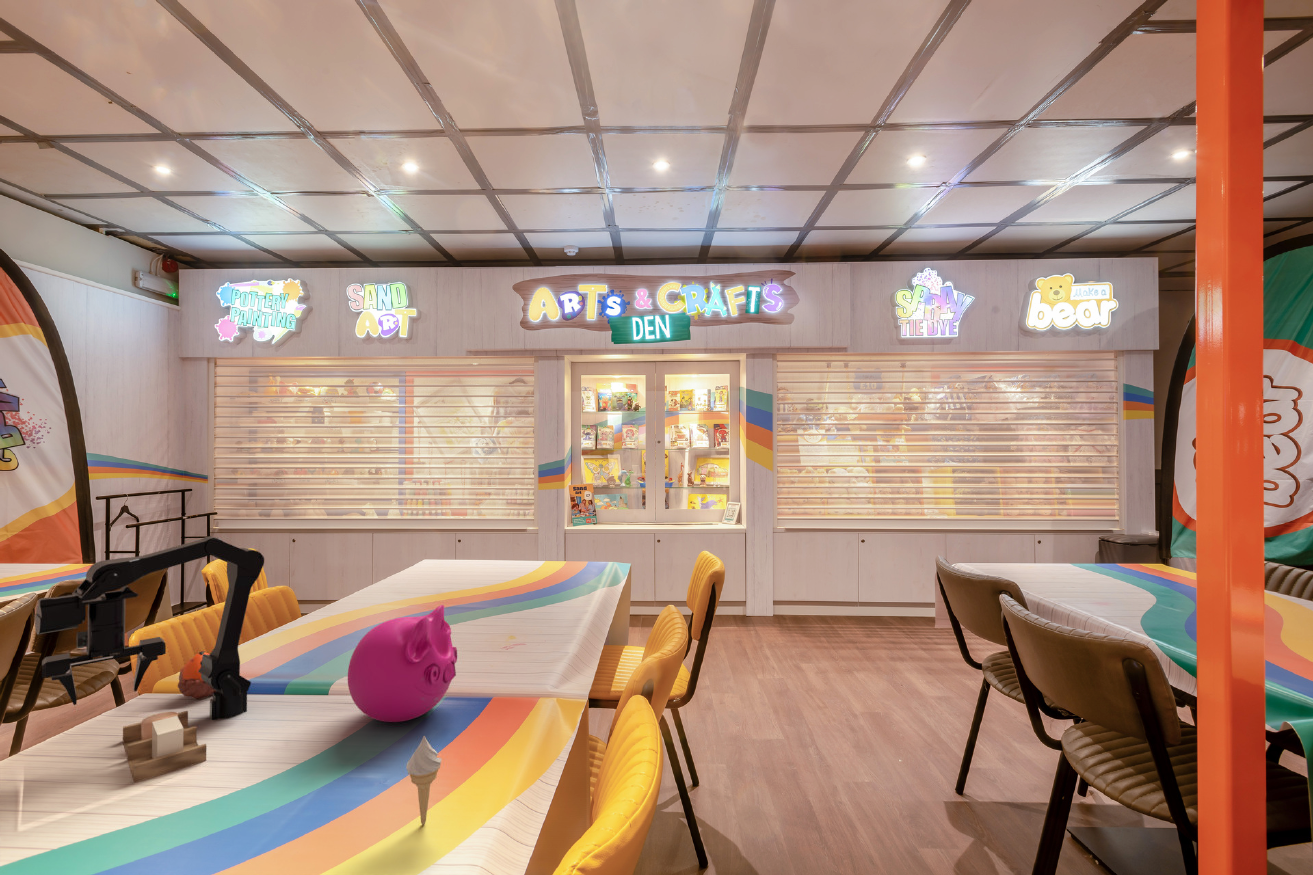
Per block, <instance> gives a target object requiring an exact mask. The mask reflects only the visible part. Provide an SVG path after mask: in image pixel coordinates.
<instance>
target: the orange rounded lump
mask: <svg viewBox="0 0 1313 875" xmlns="http://www.w3.org/2000/svg"><path fill="white" fill-rule="evenodd" d="M203 654H207V655H210V653H208V652H205V651H204V650H203V651H199V652H197V654H195V655H194V656H193V657H192V658H191V659H189V660H188V661H187V662H186V663H185V665H184V666H183V667H182V668H180V671H179V676H178V680H179V681H178V683H177V688H178V690H179V692H180V693H181V694H182V695H183V696H184V697H186V698H187V697H190V698H192V699H195V700H203V699H205V698H209V697H212V696H213V692H215V691H216V690H214V689H212V687H211V686H209V685H208V684H206V683H205V682H204V681H203V680H202V678H201V673H199V672H198V671H199V669H200V668H201V665H202V656H203Z"/></svg>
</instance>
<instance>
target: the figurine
mask: <svg viewBox="0 0 1313 875" xmlns="http://www.w3.org/2000/svg"><path fill="white" fill-rule="evenodd" d="M451 635H452V628H451V626H450V624H449V623H448V622H447V621H446V620H445V605H444V604H441V605H439V606H437V607H436V608H435V609H433V610H432V612H430V613H429V614H426V615H421V616H403V617H402V616H401V617H396V618H392V619H389V620H387V621H383V622H382V623H379V624H378V625H376V626H374V627H373V628H371V629H370V630H369V631H368V632H367V633H366V634H365V635H364V636H363V637H362V638H361V639H360V640H359V641H358V643H357V645H356V646H355V648H354V650H353V652H352V655H351V657H350V660H349V664H348V669H347V686H348V691H349V694H350V697H351V698H352V701H353V703H354V705H355V706H356V708H358V710H360V712H361V713H363V714H365V715H366V716H368V717H369V718H372V719H374V720H377V721H381V722H385V723H400V722H405V721H410V720H413V719H416V718H419V717H420V716H422V715H425V714H426V713H428V712H429V711H431V710H432V709H433V708H434V707H436V706H437V704H438V703H440V702H441V700H443V697H444V696H446V695H445V694H447V691H448V690H449V687H450V685H451V682H452V680H453V679H454V678H455V677H456V676H457V672H456V663H457V661H458V649H457V646H453V641H452V637H451Z"/></svg>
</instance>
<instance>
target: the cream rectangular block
mask: <svg viewBox="0 0 1313 875" xmlns="http://www.w3.org/2000/svg"><path fill="white" fill-rule="evenodd" d="M182 750H183V726H182V724H181V722H180V720H179V719H178V717H177V716H174V717H170V718H166V719H162V720H158V721H154V722H152V758H153V759H154V758H158V757H161V756H165V755H168V754H172V753H175V752H179V751H182Z"/></svg>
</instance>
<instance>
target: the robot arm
mask: <svg viewBox="0 0 1313 875" xmlns="http://www.w3.org/2000/svg"><path fill="white" fill-rule="evenodd" d="M209 556H211V557H214V558H216V559H218V560H220V561H223V562H225V563H226V578H227V582H228V588H227V592H226V597H225V602H224V607H223V611H222V615H221V619H220V623H219V628H218V633H217V638H216V642H215V645H214V647H213V649H212V650H211V651H210V653H209V654H210V655H207V654H203V656H202V665H201V668H200V669H199V671H198V672H199V673H201V678H202V680H203V681H204V682H205V683H206V684H208V685H209V686H211V687H212V689H214V690H216V691H215V692H213V695H212V698H211V699H210V700H209V718H210V720H212V721H214V720H216V721H217V720H223V719H232V718H234V717H237V716H239V715H240V716H241V715H242V714H243V713H247V712H248V692H249V689H250V687H251V684H252V681H251V680H248V679H247V678H245V677H243V676H241V673H240V672H241V670H240V669H241V660H240V654H239V653H240V652H239V644H240V640H241V634H242V629H243V626H244V621H245V617H246V612H247V607H248V603H249V598H250V595H251V590H252V587H253V586H254V584H255V583H256V581H257V580H258V579H259V577H260V575H261V573H262V569H263V568H264V566H265V557H264V555H263V554H262V553H261V552H260V551H258V550H254V549H250V548H247V547H237V546H235V545H232V544H230V543H228V542H226V541H224V540H222V539H221V538H219V537H214V536H204V537H202V538H201V539H198V540H195V541H194V540H193V541H191V542H187V543H183V544H180V545H177V546H173V547H169V548H166V549H162V550H159V551H155V552H152V553H148V554H144V555H140V556H132V557H131V556H129V557H119V558H114V559H113V558H112V559H106V560H101V561H97V562H95V563H94V564H92V565H91V566H90V567H89V568H88V569H87V572H86V574H85V579H84V580H83V581H82V582H81V583H80V584H79V585H78V586H77V587H76V589H74V591H73V592H72V594H68V595H61V596H55V597H42V598H39V599H38V601H37V607H36V613H35V614H34V627H35V633H36V635H42V634H49V633H54V632H59V631H61V632H62V631H65V630H71V629H76V628H77V629H78V627H79V625H81V624H83V622H85V621H86V618H87V630H86V631H85V630H84V631H79V632H76V649H83V648H84V649H85V648H86V654H84V655H76V656H72V657H71V654H70V652H67V653H62V654H55V655H50V656H46V657H44V658H43V659H42V660H41V678H42V679H43V678H45V679H47V678H50V680H51V681H59V682H60V683H61V685H62V686H63V687H64V689H65V690H66V692H67V694H68V696H69V698H70V700H71V702H72V705H73V706H77V702H78V701H77V700H78V698H77V693H76V687H75V686H76V685H75V680H74V675H73V670H72V669H73V667H79V666H84V665H88V664H95V663H100V662H104V661H105V662H106V661H110V660H115V659H121V658H127V657H130V656H131V657H132V656H137V657H136V658H137V659H136V666H135V672H134V677H133V678H134V680H133V692H137V691H138V689H139V686H140V684H141V682H142V680H143V678H144V676H145V673H146V672H147V670H148V669H149V667H150V665H151V663H152V662H154V661H157V660H158V658H159V656H163V655H166V654H167V653H166V649H167V648H166V647H167V645H166V641H165V640H164V639H163V638H162V637H160V636H157V637H151V638H145V639H139V643H138V645H133V646H127V647H126V643H125V642H126V599H132V598H137V597H138V596H139V593H137V592H135V591H133V590H132V589H131V587H129V586H128V585H130V584H133V583H135V582H137V581H138V580H140V579H141V578H144V577H145V576H147V575H150V574H152V573H155V572H159V571H162V570H166V569H169V568H172V567H175V566H178V565H182V564H185V563H189V562H192V561H195V560H198V559H203V558H206V557H209ZM86 606H87V609H86Z"/></svg>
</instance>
